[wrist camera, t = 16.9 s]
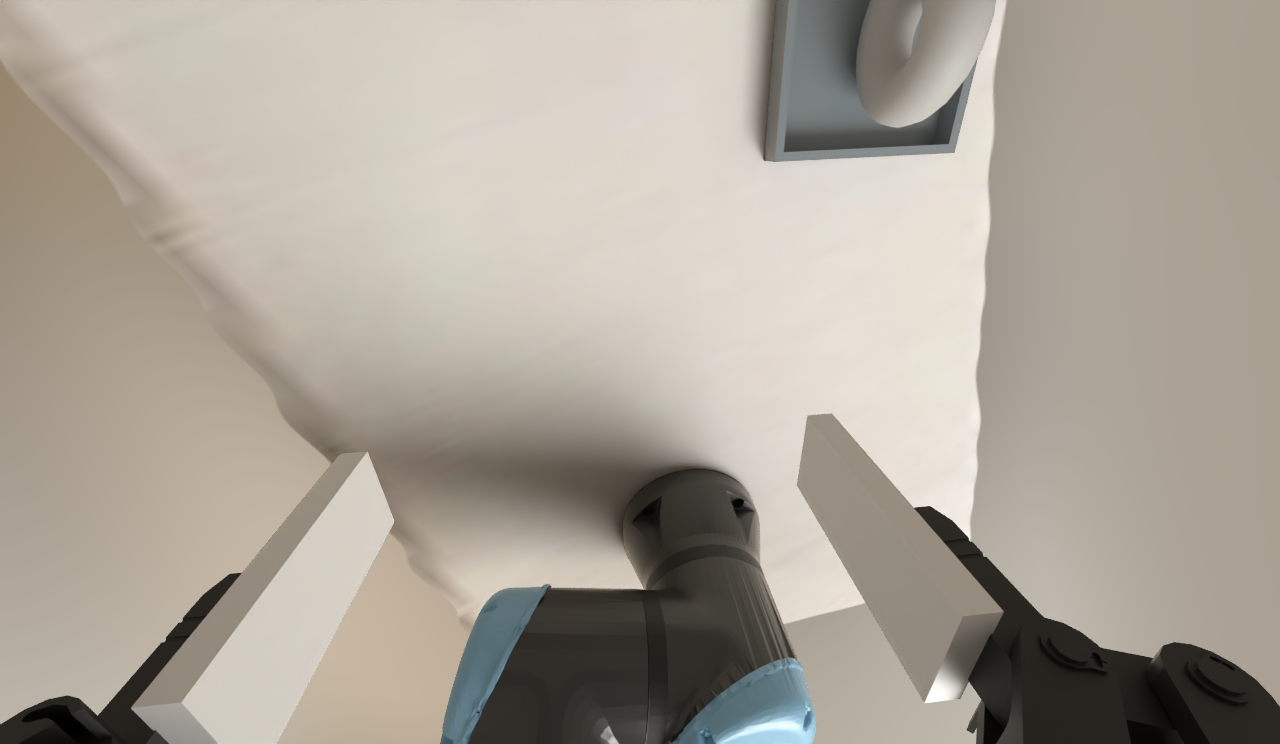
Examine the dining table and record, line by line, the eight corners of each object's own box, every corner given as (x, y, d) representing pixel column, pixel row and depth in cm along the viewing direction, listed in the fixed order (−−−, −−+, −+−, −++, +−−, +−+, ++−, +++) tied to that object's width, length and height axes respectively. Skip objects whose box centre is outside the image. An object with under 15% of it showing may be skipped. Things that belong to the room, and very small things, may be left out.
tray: (933, 152, 36) (954, 152, 34) (764, 160, 35) (774, 161, 33) (986, -80, 30) (1016, -97, 28) (781, -76, 29) (796, -94, 27)
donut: (880, 128, 34) (980, 124, 25) (836, 130, 34) (921, 126, 25) (911, -44, 30) (1045, -124, 21) (860, -43, 30) (974, -122, 21)
